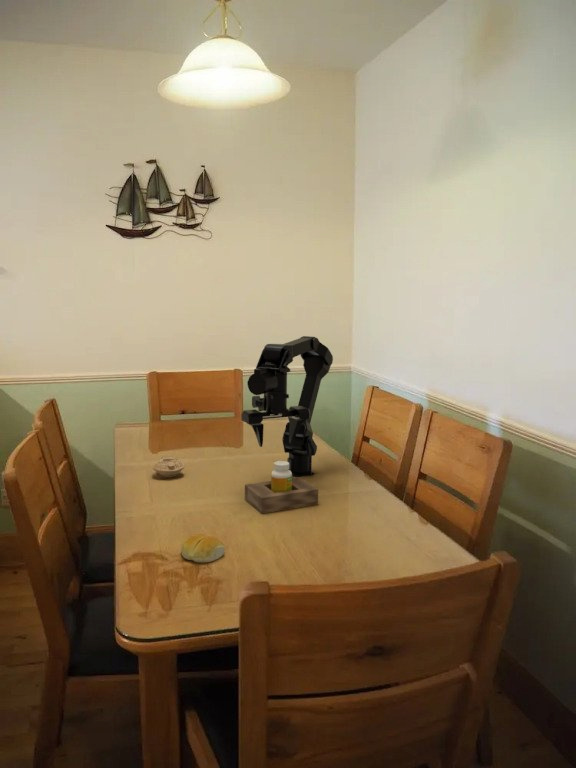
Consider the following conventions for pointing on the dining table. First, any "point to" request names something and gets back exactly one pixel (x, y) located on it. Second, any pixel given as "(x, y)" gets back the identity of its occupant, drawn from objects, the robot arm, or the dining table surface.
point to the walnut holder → (281, 496)
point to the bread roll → (202, 548)
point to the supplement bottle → (281, 477)
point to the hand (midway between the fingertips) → (275, 444)
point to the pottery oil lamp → (168, 466)
